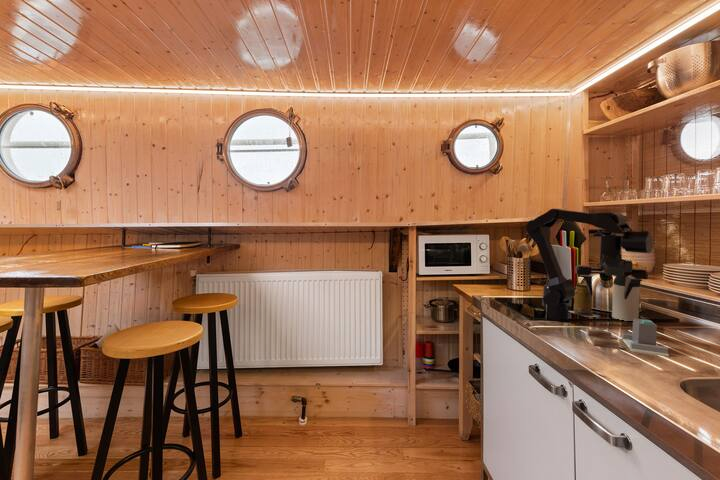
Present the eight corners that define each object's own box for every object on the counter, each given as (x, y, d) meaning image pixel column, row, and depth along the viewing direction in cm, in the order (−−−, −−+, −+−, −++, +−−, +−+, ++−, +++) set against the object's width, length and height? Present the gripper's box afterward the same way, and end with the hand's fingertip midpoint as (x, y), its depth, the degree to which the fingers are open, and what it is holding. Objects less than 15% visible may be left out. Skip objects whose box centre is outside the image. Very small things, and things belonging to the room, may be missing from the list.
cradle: (632, 352, 95) (632, 344, 95) (621, 339, 106) (621, 332, 106) (668, 357, 91) (669, 349, 91) (653, 343, 102) (653, 336, 102)
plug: (637, 347, 97) (639, 320, 96) (631, 340, 102) (633, 315, 102) (655, 349, 95) (657, 322, 94) (648, 342, 100) (650, 317, 100)
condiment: (582, 310, 139) (583, 282, 138) (600, 316, 131) (602, 286, 130) (567, 311, 138) (568, 283, 137) (585, 317, 129) (587, 287, 129)
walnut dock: (594, 346, 99) (594, 340, 99) (587, 334, 110) (587, 328, 110) (619, 350, 96) (619, 343, 96) (609, 337, 107) (609, 331, 107)
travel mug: (630, 323, 122) (633, 274, 121) (607, 317, 130) (609, 271, 129) (642, 320, 126) (645, 273, 125) (619, 315, 133) (622, 270, 132)
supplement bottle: (554, 309, 141) (555, 281, 140) (538, 305, 147) (539, 278, 146) (563, 307, 144) (565, 280, 143) (548, 304, 150) (549, 277, 149)
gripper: (580, 251, 107) (578, 299, 108) (655, 254, 98) (652, 306, 99) (575, 248, 117) (573, 292, 118) (643, 251, 108) (640, 298, 109)
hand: (608, 297), depth 111 cm, fingers open, 9 cm apart
